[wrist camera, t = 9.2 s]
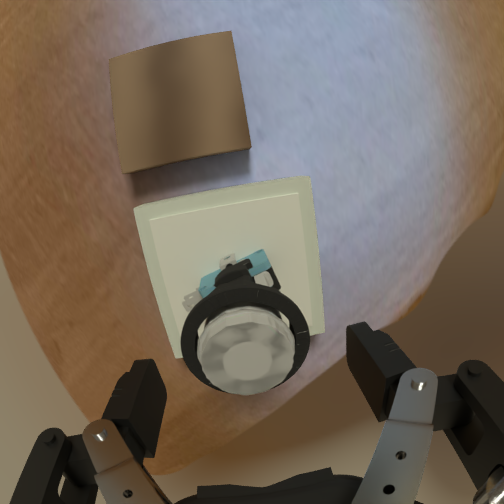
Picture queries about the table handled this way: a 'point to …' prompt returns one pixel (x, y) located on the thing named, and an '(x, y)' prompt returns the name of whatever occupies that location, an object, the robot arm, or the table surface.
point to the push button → (243, 328)
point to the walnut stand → (178, 102)
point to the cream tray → (232, 244)
